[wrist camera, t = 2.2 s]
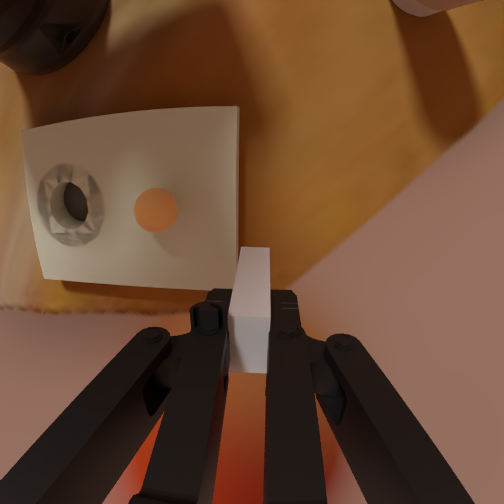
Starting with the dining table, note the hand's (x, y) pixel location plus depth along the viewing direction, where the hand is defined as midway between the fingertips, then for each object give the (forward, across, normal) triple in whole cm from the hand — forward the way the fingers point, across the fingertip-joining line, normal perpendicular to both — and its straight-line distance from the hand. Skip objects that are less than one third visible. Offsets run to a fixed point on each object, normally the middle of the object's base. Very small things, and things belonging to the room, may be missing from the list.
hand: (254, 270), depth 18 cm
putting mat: (+16, -14, 0) cm, 21 cm away
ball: (+11, -9, 0) cm, 14 cm away
